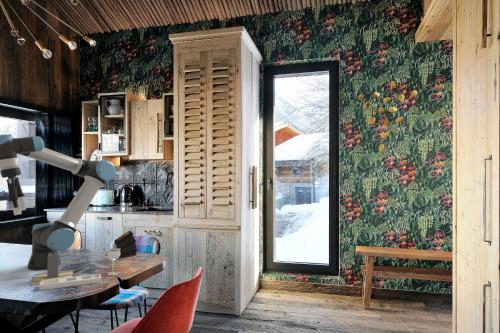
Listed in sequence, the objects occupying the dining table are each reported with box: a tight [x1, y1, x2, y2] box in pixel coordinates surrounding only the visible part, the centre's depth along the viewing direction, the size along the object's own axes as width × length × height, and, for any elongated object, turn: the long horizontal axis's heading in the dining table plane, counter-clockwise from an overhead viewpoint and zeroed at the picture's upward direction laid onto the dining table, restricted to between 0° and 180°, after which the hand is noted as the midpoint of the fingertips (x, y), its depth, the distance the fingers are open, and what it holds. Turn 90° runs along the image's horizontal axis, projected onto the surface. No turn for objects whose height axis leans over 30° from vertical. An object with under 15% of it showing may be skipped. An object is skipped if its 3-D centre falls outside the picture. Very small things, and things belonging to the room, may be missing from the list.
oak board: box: [30, 269, 74, 287], centre depth 156 cm, size 16×16×1 cm
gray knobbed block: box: [46, 252, 60, 278], centre depth 156 cm, size 4×4×11 cm
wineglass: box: [105, 247, 121, 276], centre depth 165 cm, size 7×7×12 cm
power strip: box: [38, 273, 102, 291], centre depth 148 cm, size 7×24×3 cm, turn 117°
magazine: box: [113, 230, 138, 259], centre depth 200 cm, size 4×13×15 cm, turn 139°
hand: (20, 212), depth 155 cm, fingers open, 13 cm apart
